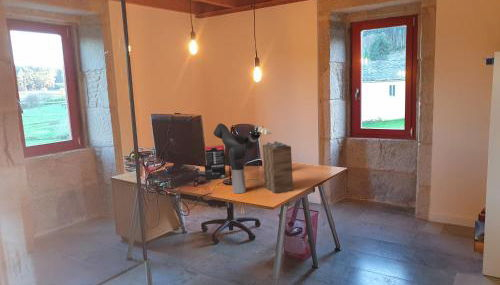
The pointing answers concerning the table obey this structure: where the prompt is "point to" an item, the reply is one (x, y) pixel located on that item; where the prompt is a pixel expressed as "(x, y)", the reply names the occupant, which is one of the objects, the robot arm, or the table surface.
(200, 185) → the table surface
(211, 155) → the graphics card box
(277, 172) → the walnut cabinet
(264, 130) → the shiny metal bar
